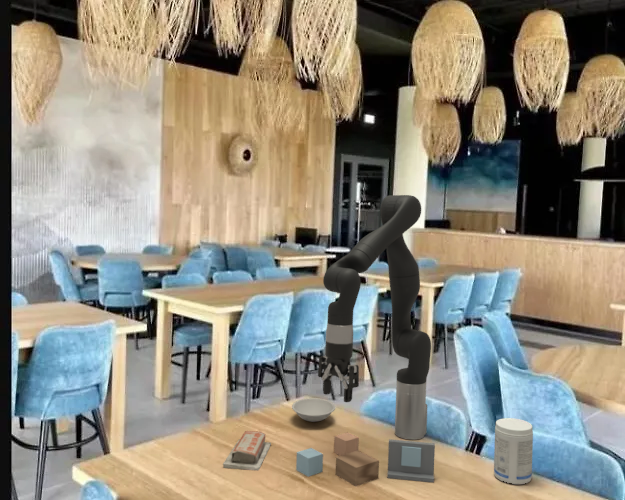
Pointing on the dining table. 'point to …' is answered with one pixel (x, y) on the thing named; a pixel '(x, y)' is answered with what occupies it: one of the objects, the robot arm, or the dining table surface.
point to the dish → (313, 409)
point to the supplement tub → (513, 450)
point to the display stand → (411, 460)
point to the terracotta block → (345, 443)
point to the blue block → (309, 462)
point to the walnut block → (357, 468)
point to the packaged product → (248, 452)
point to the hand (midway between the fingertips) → (336, 397)
